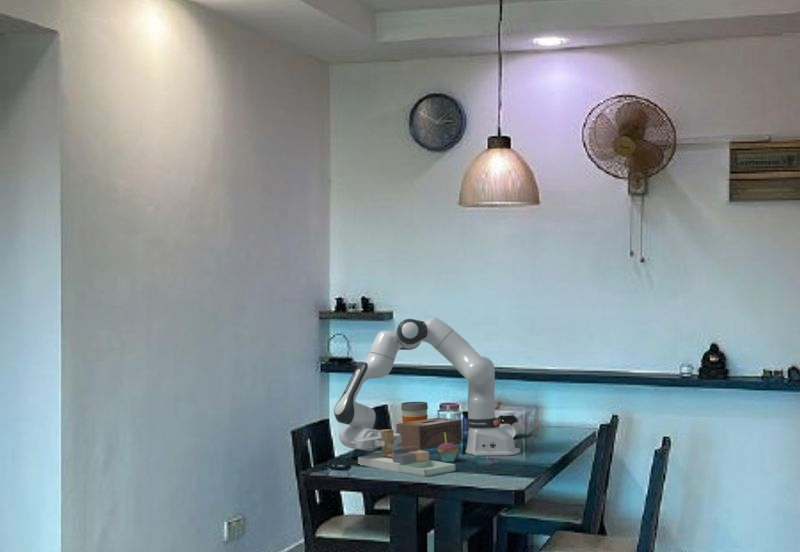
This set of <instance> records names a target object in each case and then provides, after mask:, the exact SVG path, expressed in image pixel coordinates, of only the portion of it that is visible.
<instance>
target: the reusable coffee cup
mask: <svg viewBox="0 0 800 552" xmlns="http://www.w3.org/2000/svg"><path fill="white" fill-rule="evenodd" d="M428 409H429V406H428V402H427V401H408V402H407V401H405V402H401V407H400V410H401V413H402V414H401V417H402V418H401V420H402V423H406V422H412V421H419V420H425V419H428V416H429V415H428Z"/></svg>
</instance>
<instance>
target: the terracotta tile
mask: <svg viewBox="0 0 800 552" xmlns="http://www.w3.org/2000/svg"><path fill="white" fill-rule="evenodd" d="M407 453H412V454H415V461H417V462H418V461H423V460H430V452H429V451H425V450H422V449H418V450H416V451H410V452H407Z"/></svg>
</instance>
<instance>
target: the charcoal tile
mask: <svg viewBox="0 0 800 552" xmlns="http://www.w3.org/2000/svg"><path fill="white" fill-rule="evenodd" d="M393 462H395V463H400V464H406V463H412V462H416V461H415V454H412V453H406V452H404V453H398V454H393Z"/></svg>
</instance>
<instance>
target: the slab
mask: <svg viewBox="0 0 800 552" xmlns="http://www.w3.org/2000/svg"><path fill="white" fill-rule="evenodd" d="M423 461H426V460H423ZM416 462H417V461H416ZM418 462H420V461H418ZM412 463H415V462H412ZM357 464H360V465H359V466H363V465H364V467H368V468H369V467H370V468H375V469H380V470H387V471H391V472H395V473H396V472H398V473H400V472H399V465H404V464H400V463H395V462H393V460H392V457H386V456H382V452H381V453H376V454H374V453H373V454H369V455H363V456H362V455H361V456H358V457H357ZM406 464H409V463H406Z"/></svg>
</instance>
